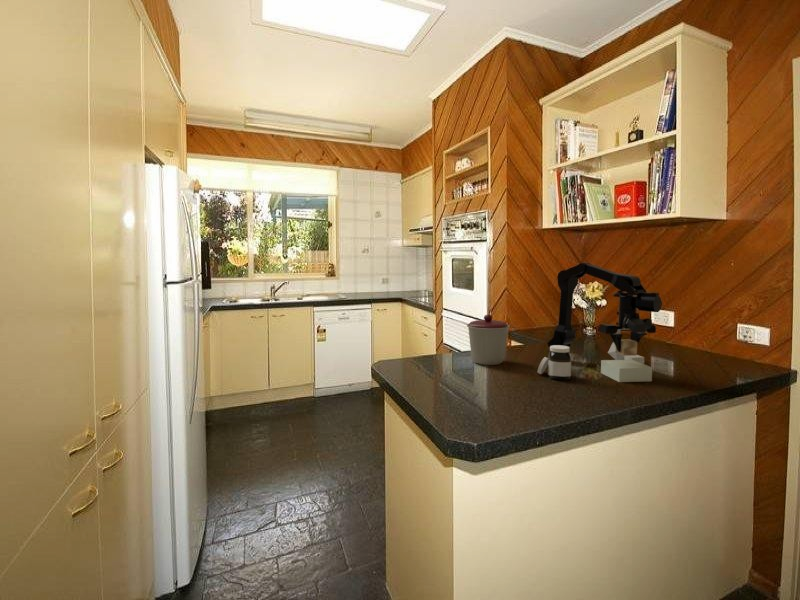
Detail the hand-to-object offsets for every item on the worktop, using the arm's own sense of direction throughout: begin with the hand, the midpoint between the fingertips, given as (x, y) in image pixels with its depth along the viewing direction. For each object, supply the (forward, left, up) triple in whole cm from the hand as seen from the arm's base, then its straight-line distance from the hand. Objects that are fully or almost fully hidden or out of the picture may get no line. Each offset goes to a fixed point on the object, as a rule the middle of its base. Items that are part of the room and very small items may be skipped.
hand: (626, 351), depth 147 cm
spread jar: (-26, +3, -10) cm, 28 cm away
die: (+13, +25, -10) cm, 30 cm away
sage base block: (0, 0, -10) cm, 10 cm away
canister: (-45, +26, -10) cm, 53 cm away
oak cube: (0, 0, -1) cm, 1 cm away
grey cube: (+11, +12, -10) cm, 19 cm away
